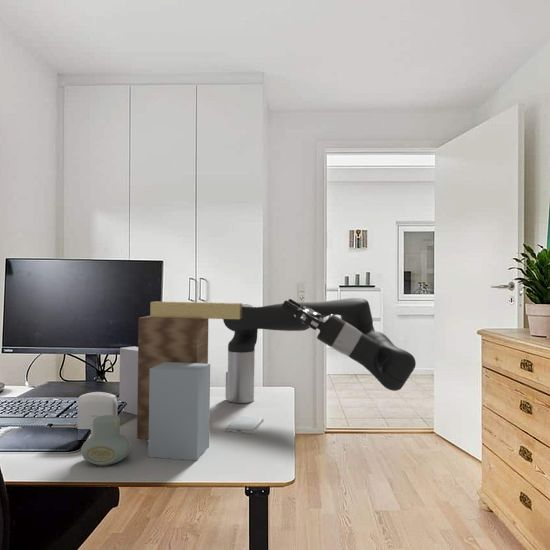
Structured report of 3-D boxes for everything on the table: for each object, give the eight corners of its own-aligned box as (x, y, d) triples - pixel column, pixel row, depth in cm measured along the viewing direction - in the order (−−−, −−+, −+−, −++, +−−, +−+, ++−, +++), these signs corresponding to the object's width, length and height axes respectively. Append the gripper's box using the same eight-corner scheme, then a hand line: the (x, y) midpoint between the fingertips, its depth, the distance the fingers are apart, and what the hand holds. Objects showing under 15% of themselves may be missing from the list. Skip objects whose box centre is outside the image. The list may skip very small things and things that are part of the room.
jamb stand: (136, 439, 137) (138, 317, 137) (151, 428, 146) (153, 314, 146) (195, 443, 134) (197, 319, 134) (206, 432, 144) (208, 316, 144)
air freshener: (134, 455, 125) (134, 413, 125) (125, 468, 117) (125, 423, 117) (88, 455, 125) (89, 413, 125) (76, 467, 117) (76, 423, 117)
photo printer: (74, 442, 134) (75, 394, 134) (80, 436, 139) (81, 390, 139) (114, 442, 134) (114, 394, 134) (119, 437, 138) (120, 390, 138)
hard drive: (237, 415, 158) (224, 427, 145) (263, 417, 156) (253, 429, 144) (237, 421, 158) (224, 433, 145) (263, 423, 156) (253, 435, 144)
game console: (177, 427, 149) (178, 357, 149) (118, 410, 165) (119, 348, 165) (191, 422, 153) (192, 355, 153) (133, 407, 170) (134, 346, 170)
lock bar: (150, 317, 138) (150, 302, 138) (155, 316, 142) (155, 301, 142) (239, 319, 136) (239, 303, 136) (242, 318, 140) (242, 303, 140)
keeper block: (148, 457, 124) (149, 368, 124) (163, 443, 134) (165, 361, 134) (197, 460, 122) (198, 370, 122) (209, 446, 132) (210, 363, 132)
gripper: (330, 351, 126) (273, 317, 129) (333, 344, 140) (282, 312, 143) (346, 325, 126) (289, 290, 128) (347, 320, 140) (295, 289, 142)
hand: (285, 302), depth 135 cm, fingers open, 8 cm apart
